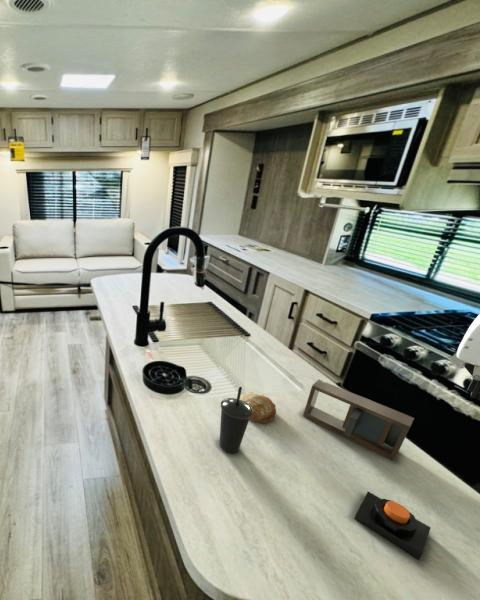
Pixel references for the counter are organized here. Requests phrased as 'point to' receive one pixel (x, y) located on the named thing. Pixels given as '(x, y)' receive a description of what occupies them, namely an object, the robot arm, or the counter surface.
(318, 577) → the counter surface
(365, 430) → the window sash
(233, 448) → the drinking cup
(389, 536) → the control block
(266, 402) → the bread roll
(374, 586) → the counter surface
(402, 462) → the counter surface
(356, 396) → the window frame
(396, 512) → the button
